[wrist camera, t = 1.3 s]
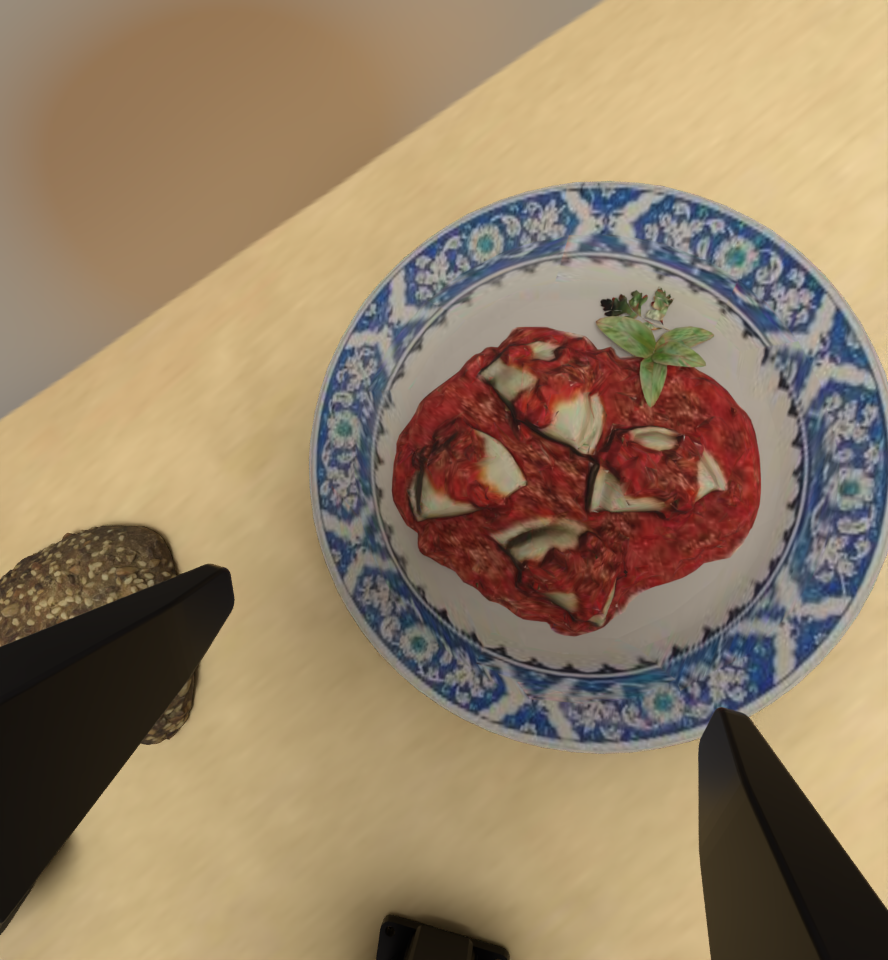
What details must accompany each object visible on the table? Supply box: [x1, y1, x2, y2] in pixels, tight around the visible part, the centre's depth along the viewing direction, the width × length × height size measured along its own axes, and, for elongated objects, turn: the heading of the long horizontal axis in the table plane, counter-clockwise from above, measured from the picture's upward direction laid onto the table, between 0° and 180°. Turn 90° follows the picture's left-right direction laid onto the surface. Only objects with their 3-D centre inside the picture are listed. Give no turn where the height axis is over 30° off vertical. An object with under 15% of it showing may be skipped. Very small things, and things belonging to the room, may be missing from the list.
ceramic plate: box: [309, 181, 888, 754], centre depth 24 cm, size 26×26×3 cm
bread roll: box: [0, 526, 194, 745], centre depth 28 cm, size 13×12×5 cm
